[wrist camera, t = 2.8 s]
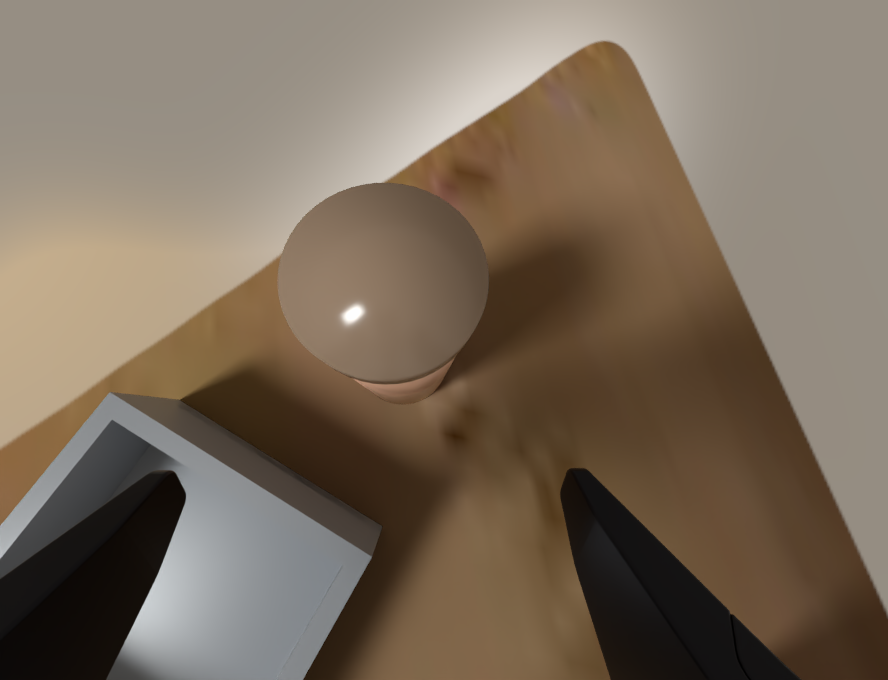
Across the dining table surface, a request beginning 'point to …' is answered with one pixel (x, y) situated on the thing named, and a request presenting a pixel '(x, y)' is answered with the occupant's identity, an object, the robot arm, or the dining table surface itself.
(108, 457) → the box
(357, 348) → the jar
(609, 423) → the dining table surface
